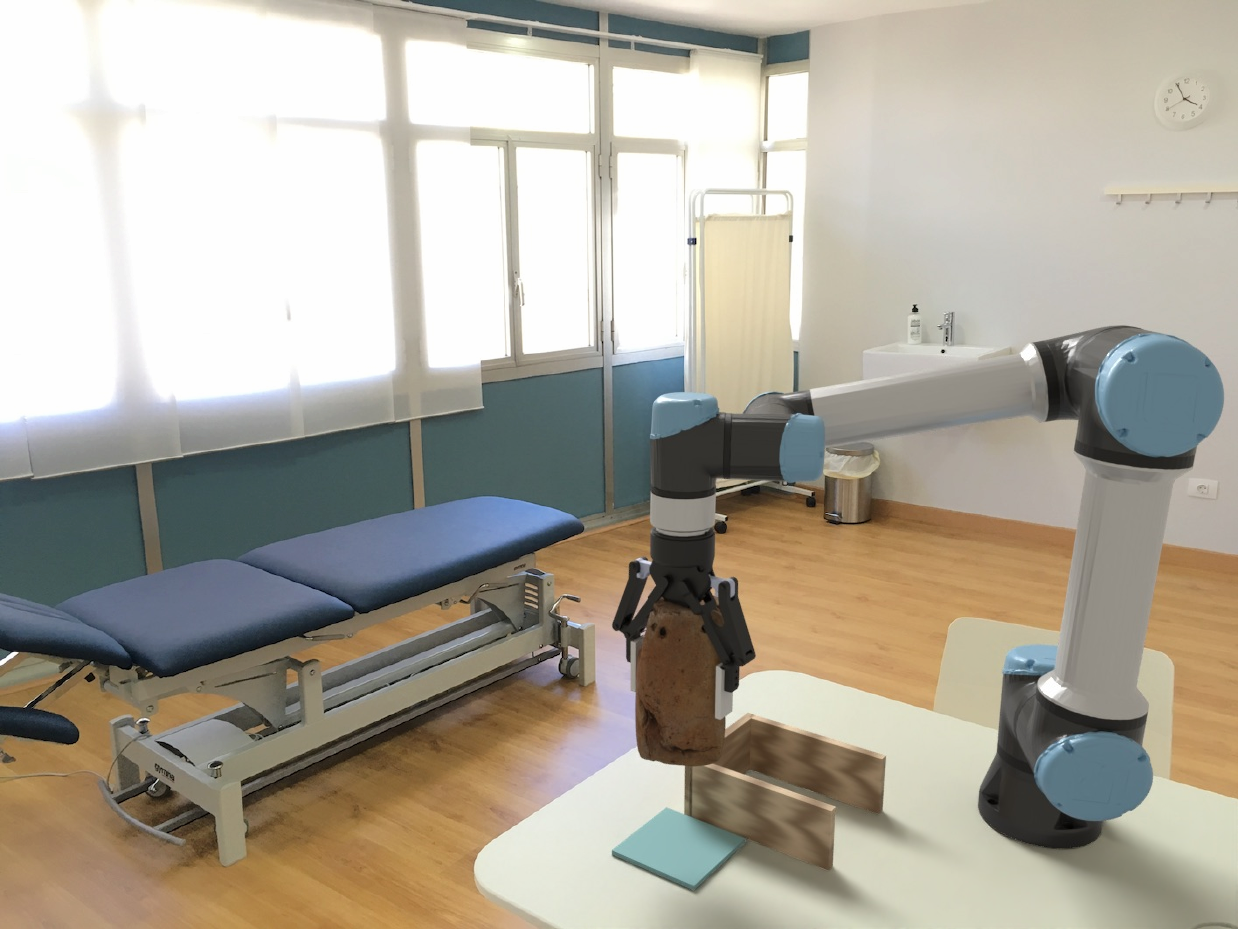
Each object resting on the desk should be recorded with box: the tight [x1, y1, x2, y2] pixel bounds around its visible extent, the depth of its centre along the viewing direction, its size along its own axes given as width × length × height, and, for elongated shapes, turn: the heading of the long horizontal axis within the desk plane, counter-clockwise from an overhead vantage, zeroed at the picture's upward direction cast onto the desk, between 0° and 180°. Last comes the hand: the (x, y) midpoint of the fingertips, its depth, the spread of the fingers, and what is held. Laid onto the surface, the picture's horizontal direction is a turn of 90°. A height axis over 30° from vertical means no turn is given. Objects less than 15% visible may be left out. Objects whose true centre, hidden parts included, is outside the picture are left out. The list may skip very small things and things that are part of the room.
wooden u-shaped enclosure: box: [683, 712, 887, 872], centre depth 136 cm, size 21×16×8 cm
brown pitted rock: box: [634, 595, 727, 767], centre depth 124 cm, size 11×8×20 cm
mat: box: [611, 807, 746, 891], centre depth 129 cm, size 12×12×1 cm
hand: (680, 701), depth 124 cm, fingers closed on brown pitted rock, 11 cm apart
